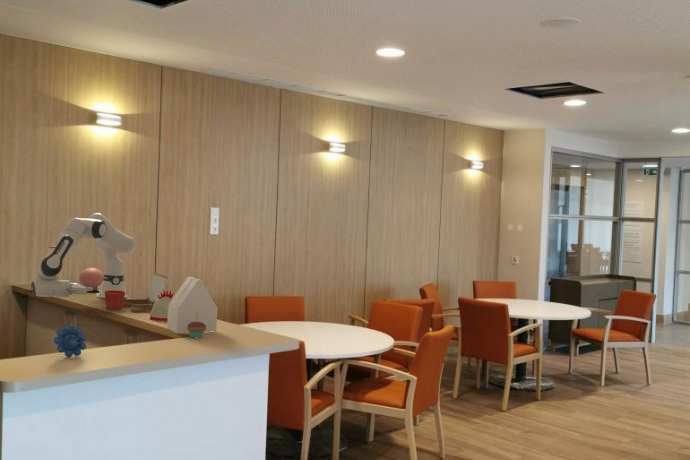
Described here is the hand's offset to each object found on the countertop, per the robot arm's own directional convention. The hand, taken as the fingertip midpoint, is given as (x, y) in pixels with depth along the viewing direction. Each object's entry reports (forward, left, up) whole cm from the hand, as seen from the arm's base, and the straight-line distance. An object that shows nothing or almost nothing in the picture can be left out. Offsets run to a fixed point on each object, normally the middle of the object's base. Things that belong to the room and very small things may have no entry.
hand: (92, 289), depth 368 cm
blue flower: (+119, -34, -11) cm, 124 cm away
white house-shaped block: (+71, +31, -11) cm, 78 cm away
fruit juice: (-89, -6, -11) cm, 90 cm away
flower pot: (0, +12, -11) cm, 17 cm away
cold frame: (+1, +26, -11) cm, 29 cm away
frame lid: (+1, +35, +1) cm, 35 cm away
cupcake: (+89, +26, -11) cm, 93 cm away
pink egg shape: (-81, +20, -11) cm, 84 cm away
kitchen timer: (+37, +28, -11) cm, 48 cm away
